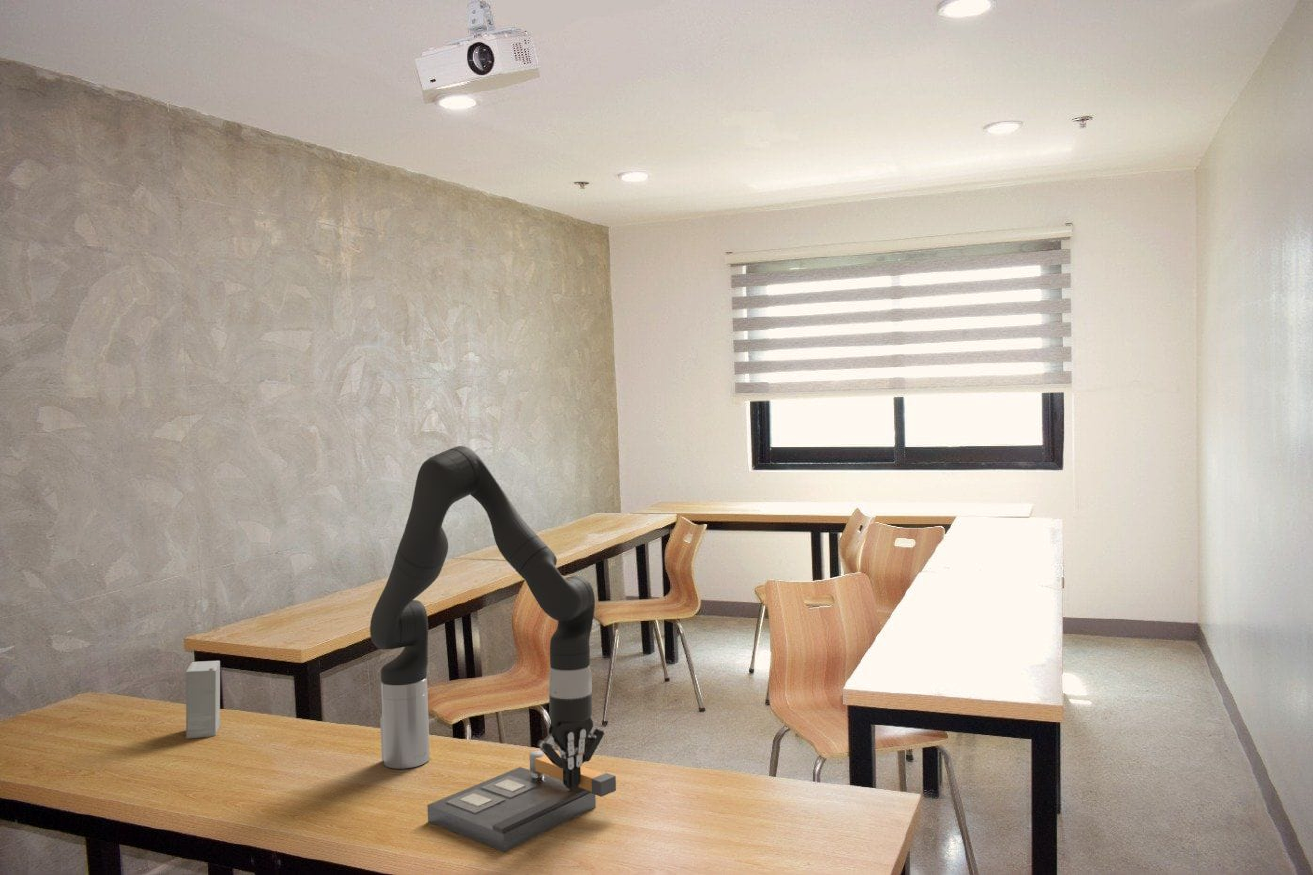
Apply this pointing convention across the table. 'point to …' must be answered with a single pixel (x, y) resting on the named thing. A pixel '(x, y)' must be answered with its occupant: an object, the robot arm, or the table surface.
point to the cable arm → (589, 778)
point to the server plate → (510, 808)
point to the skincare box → (202, 699)
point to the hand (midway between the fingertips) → (572, 787)
